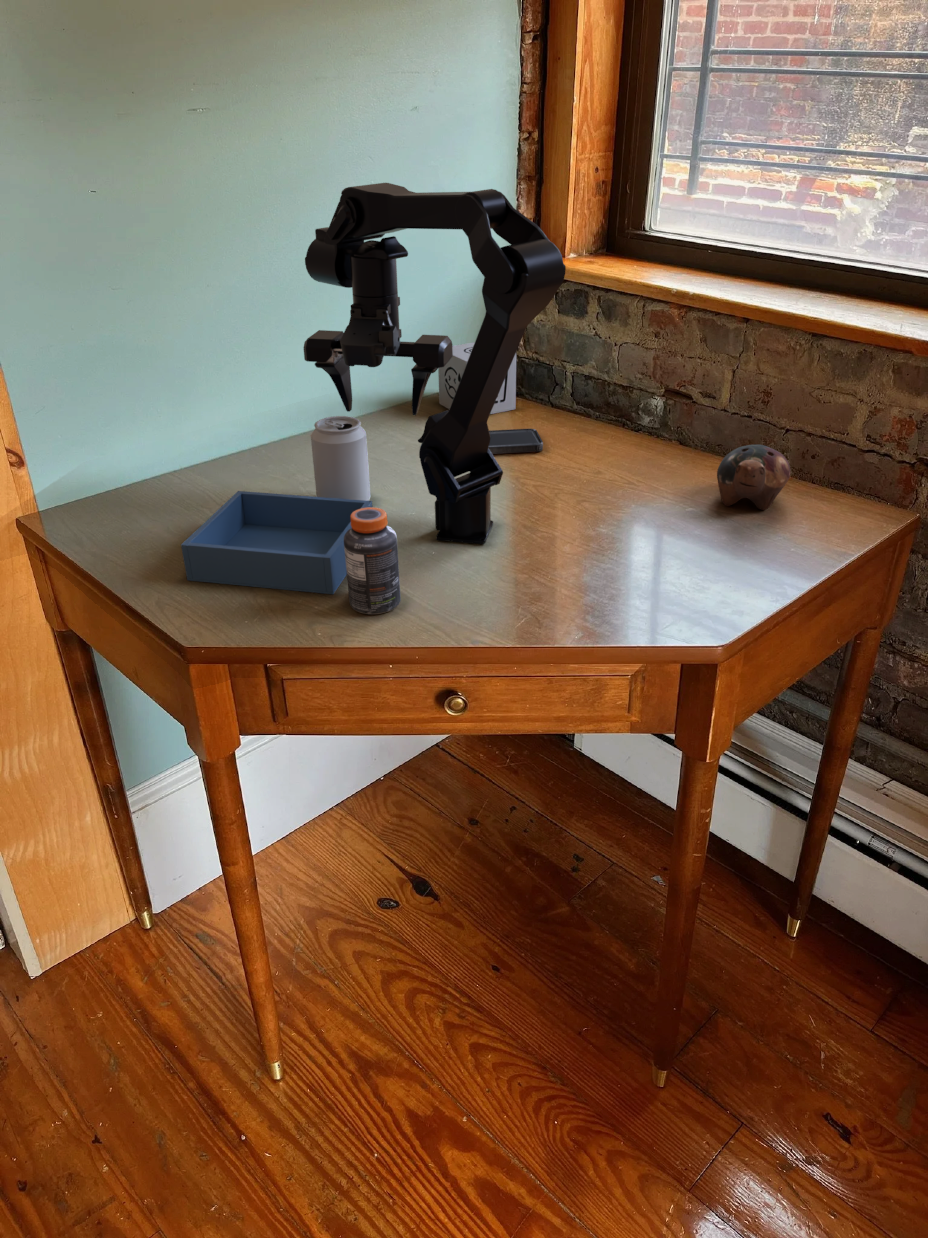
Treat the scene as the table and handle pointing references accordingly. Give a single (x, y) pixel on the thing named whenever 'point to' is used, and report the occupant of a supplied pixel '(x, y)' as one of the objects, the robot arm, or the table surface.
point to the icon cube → (454, 372)
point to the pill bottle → (372, 562)
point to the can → (340, 459)
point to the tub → (273, 542)
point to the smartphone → (515, 441)
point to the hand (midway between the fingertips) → (381, 412)
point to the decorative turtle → (752, 475)
